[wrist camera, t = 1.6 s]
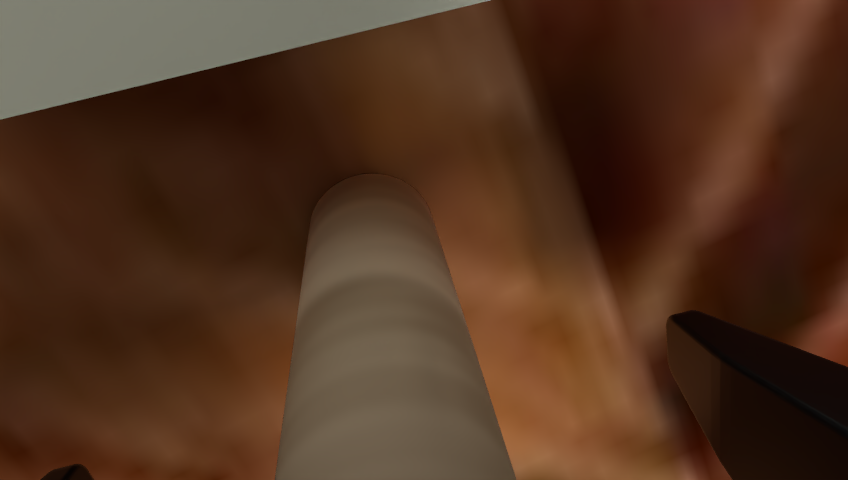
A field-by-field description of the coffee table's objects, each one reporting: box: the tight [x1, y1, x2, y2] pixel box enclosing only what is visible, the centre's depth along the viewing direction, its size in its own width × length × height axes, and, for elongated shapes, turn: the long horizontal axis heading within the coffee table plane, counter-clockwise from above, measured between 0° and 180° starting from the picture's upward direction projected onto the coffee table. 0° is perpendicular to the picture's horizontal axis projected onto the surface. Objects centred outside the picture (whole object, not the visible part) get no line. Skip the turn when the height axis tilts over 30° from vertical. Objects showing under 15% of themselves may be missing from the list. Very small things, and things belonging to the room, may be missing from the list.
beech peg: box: [275, 174, 516, 480], centre depth 10 cm, size 3×3×10 cm
